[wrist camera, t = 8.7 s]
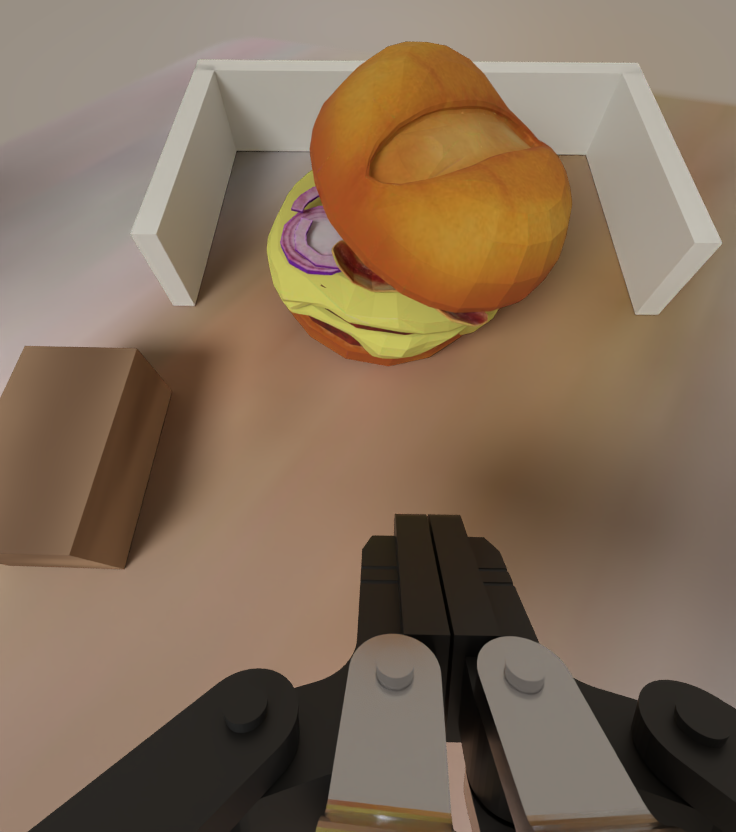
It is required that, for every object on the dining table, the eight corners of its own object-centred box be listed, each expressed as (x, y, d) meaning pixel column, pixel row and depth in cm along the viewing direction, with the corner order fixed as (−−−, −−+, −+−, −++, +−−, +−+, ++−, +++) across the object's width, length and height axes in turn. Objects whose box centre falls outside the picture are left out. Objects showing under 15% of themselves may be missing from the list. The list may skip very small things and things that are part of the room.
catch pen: (173, 305, 20) (129, 233, 16) (222, 139, 25) (198, 59, 22) (657, 314, 19) (722, 243, 16) (599, 144, 25) (638, 62, 21)
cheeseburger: (318, 192, 23) (355, -64, 14) (496, 275, 24) (639, 83, 15) (228, 334, 19) (200, 96, 10) (449, 431, 20) (612, 292, 11)
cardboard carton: (9, 565, 15) (-72, 550, 12) (76, 388, 18) (24, 345, 15) (124, 569, 15) (68, 555, 12) (172, 390, 18) (136, 348, 15)
